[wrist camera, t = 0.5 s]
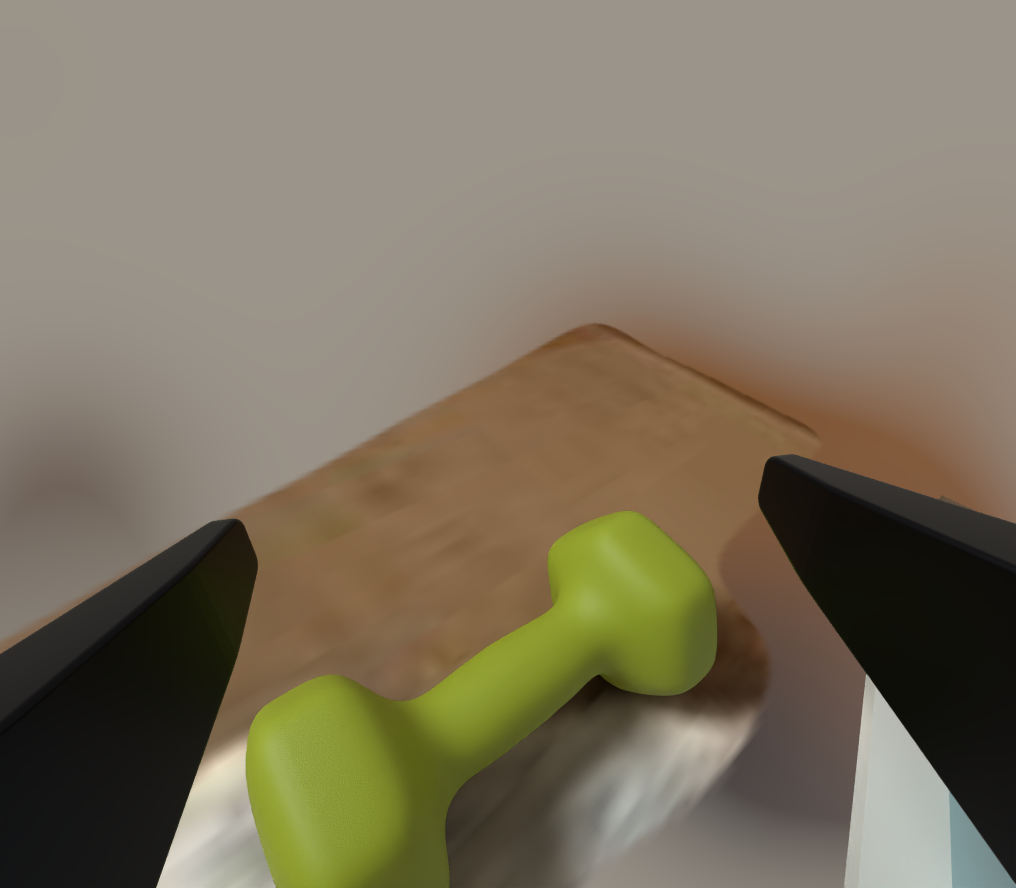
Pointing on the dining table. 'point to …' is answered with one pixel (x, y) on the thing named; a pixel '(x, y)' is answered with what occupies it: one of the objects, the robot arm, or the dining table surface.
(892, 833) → the plate
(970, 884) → the block
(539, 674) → the dumbbell
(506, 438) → the dining table surface
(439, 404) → the dining table surface
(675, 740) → the dining table surface
